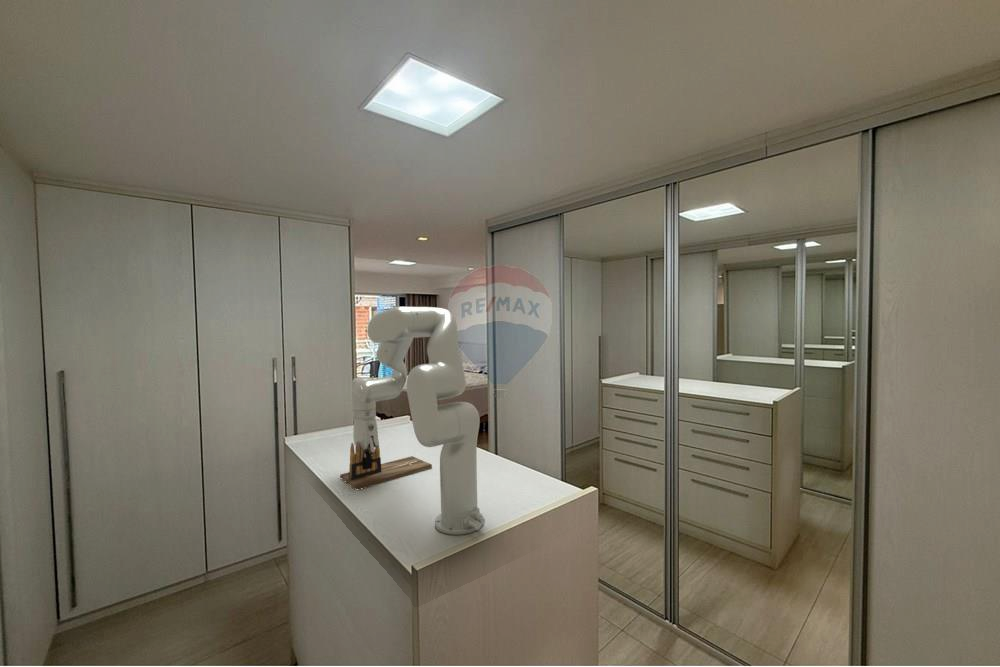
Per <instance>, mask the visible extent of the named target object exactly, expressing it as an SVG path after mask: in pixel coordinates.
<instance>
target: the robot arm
mask: <svg viewBox="0 0 1000 667" xmlns="http://www.w3.org/2000/svg"><path fill="white" fill-rule="evenodd" d="M457 325H458V323H457V321H456V318H455V316H454V314H453V313H452V312H451V311H450V310H449V309H447V308H443V307H434V306H394V307H392V308H389V309H386V310H384V311H381V312H379V313H376V314H374V315H373V316H372V317H371V319H370V320H369V322H368V324H367V336H368V338H369V340H370V341H372V342H373V343H374V344H375V343H376V344H379V346H378V348H377V350H376V352H375V354H376V355H375V356H376V359H377V361H378V362H379V363H380V364H382V365H383V366H385V367H387V368H390V369H392V372H391V374H390V376H385V377H376V378H373V377H368V376H366V377H363V376H362V377H356V378H354V379H352V381H351V401H352V403H351V405H352V408H351V409H352V411H351V412H352V421H353V445H354V446H356V443H357V442H358V444H359V450H360V451H361V448H362V449H363V457H364V458H362V469H363V470H366V469H369V468H372V453H374V452H375V450H374V449H375V447H378V441H379V433H378V425H377V420H376V418H377V412H376V411H377V410H376V406H377V405H376V402H380V401H387V400H393V399H396V398H398V397H399V396H400V394H401V393H402V391H403V390H404V387H405V386H406V393H407V394H406V395H407V399H408V405H409V410H410V416H411V421H412V426H413V431H414V434H415V437H416V439H417V441H418V443H420V445H422V446H423V447H426V448H433V447H434V448H435V447H437V446H441V445H442V447H441V451H440V454H439V479H440V480H439V481H440V482H439V484H440V489H439V490H440V514H438V515H437V516H436V518H435V520H434V524H435V528H436V529H437V530H438V531H439V532H441V533H443V534H447V535H454V536H455V535H466V534H470V533H473V532H475V531H479V530H480V529H481V527H482V526H483V525H484V524H485V522H486V519H485V518H484V515H483V514H482V513H481V512H480V508H479V507H478V472H477V469H478V468H477V466H478V465H477V459H478V458H477V449H478V448H477V447H478V444H477V443H478V437H479V436H478V435H479V431H480V421H481V420H480V413H479V411H478V409H477V407H475V405H474V404H472V403H470V402H467V401H456V402H450V403H445V404H440V405H438V401H440V400H445V399H451V398H455V397H458V396H460V395H462V394H463V393H464V392H465V390H466V386H467V382H466V376H465V371H464V366H463V360H462V356H461V351H460V347H459V342H458V341H459V340H458V326H457ZM414 338H416V339H417V338H429V341H428V342H427V346H426V354H427V357H428V363H423V364H418V365H416V366H414V367H413V368H412V369H411V370H410V371H409V373H408V370H407V366H406V364H405V362H404V360H405V358H406V355H407V354H408V351H409V348H411V344H412V343H413V341H414ZM368 446H369V447H368ZM366 450H368V451H367V452H366Z"/></svg>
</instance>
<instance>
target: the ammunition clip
mask: <svg viewBox="0 0 1000 667" xmlns="http://www.w3.org/2000/svg"><path fill="white" fill-rule="evenodd" d="M368 447H369V446H368ZM374 450H375V452H374V453H372V468H369V469H366V470H363V469H362V458H364V457H363V449H362V448H361V451H360V450H359V444H358V442H357V443H356V445H355V444H354V442H351V444H350V454H349V471H348V472H349V478H350V479H352V480H353V479H357V478H360V477H364V476H368V475H371V474H375V473H379V472H382V470H381V464H382V461H381V460H382V459H381V449H380V442H379V440H378V447H374ZM367 451H368V450H366V452H367Z"/></svg>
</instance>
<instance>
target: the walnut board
mask: <svg viewBox="0 0 1000 667" xmlns="http://www.w3.org/2000/svg"><path fill="white" fill-rule="evenodd" d="M432 466H433V464H432V463H430V462H427V461H424V460H422V459H420V458H417V457H415V456H412V455H410V456H408V457H403V458H399V459H396V460H391V461H387V462H384V463H381V470H382V472H379V473H375V474H371V475H368V476H364V477H360V478H357V479H353V480H352V479H350V478H349V471H348V472H346V473H345V472H344V473H341V474H339V479H340V478H342V479H343V480H344V481H346V482H347V483H348V484H347V483H346V482H345V483H346V484H347V485H349V484H350V485H351V487H352V486H353V487H354V488H353V487H352V488H353V489H355V488H356V489H360V490H362V489H361V488H363V489H366V488H365V487H367V488H369V486H370V487H374V486H376V485H380V483H381V484H384V483H386V482H390V481H393V480H394V481H395V480H397V479H401V478H405V477H407V476H412V475H415V474H418V473H421V472H425V471H428V470H432V469H433V467H432ZM343 480H342V481H343ZM344 481H343V482H344ZM350 485H349V486H350ZM373 485H374V486H373ZM356 489H355V490H356Z"/></svg>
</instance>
